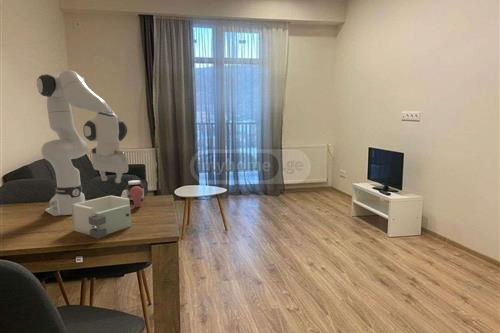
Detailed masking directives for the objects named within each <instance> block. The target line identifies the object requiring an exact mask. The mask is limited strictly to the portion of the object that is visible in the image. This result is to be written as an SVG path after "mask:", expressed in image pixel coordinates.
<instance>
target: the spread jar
mask: <svg viewBox="0 0 500 333" xmlns="http://www.w3.org/2000/svg"><path fill="white" fill-rule="evenodd" d="M135 186H139V187H141V188H142V189H143V196H142V198H141V201H142V200H143V199H144V196H145V193H144V192H145V190H144V186H143V185H142V184H141V180H140V179H139V180H137V179H133V180H128V185H127V186H126V188H125V189H123V191H122V192H121V195H120V197H122V198H128V199H130V202H133V199H132V197H131V196H130V190H131V189H132V188H133V187H135Z"/></svg>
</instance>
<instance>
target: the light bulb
mask: <svg viewBox="0 0 500 333" xmlns="http://www.w3.org/2000/svg"><path fill="white" fill-rule="evenodd" d="M143 189H144V188H143ZM143 189H142V188H141V187H139V186H135V187H133V188H132V189H131V190H130V196H131V197H132V199H133V201H132V202H133V203H134V204H133V205H134V207H135V208H140V207H142V202H141V201H142V200H141V198H142V196H143Z"/></svg>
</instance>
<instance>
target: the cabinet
mask: <svg viewBox="0 0 500 333" xmlns="http://www.w3.org/2000/svg"><path fill="white" fill-rule="evenodd" d="M123 205H130V206H131V201H130V199H128V198H122V197H121V196H116V195H106V196H102V197H97V198H94V199H89V200H85V201H84V202H80V203H75V204H71V206H72V214H71V217H72V227H73V231H74V232H78V233H81V234H84V235H86V236H87V235H88V236H89V237H91V238H94V239H102V238H105V237H107V236H108V234H107V229H102V230H99V231H96V226H99V225H102V224H105V223H106V216H103V217H99V218H95V213H97V212H101V211H105V210H108V209H112V208H116V207H120V206H123Z"/></svg>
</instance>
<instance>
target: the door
mask: <svg viewBox="0 0 500 333" xmlns="http://www.w3.org/2000/svg"><path fill="white" fill-rule="evenodd" d="M131 214H132V213H131V204H130V205H123V206H120V207H116V208H112V209H108V210H105V211H101V212H97V213H95V218H99V217H103V216H106V223H105V224H102V225H99V226H96V231H99V230H102V229H107V235H109V234H112V233H115V232H118V231H122V230H124V229H127V228H131V227H132V215H131Z"/></svg>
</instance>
